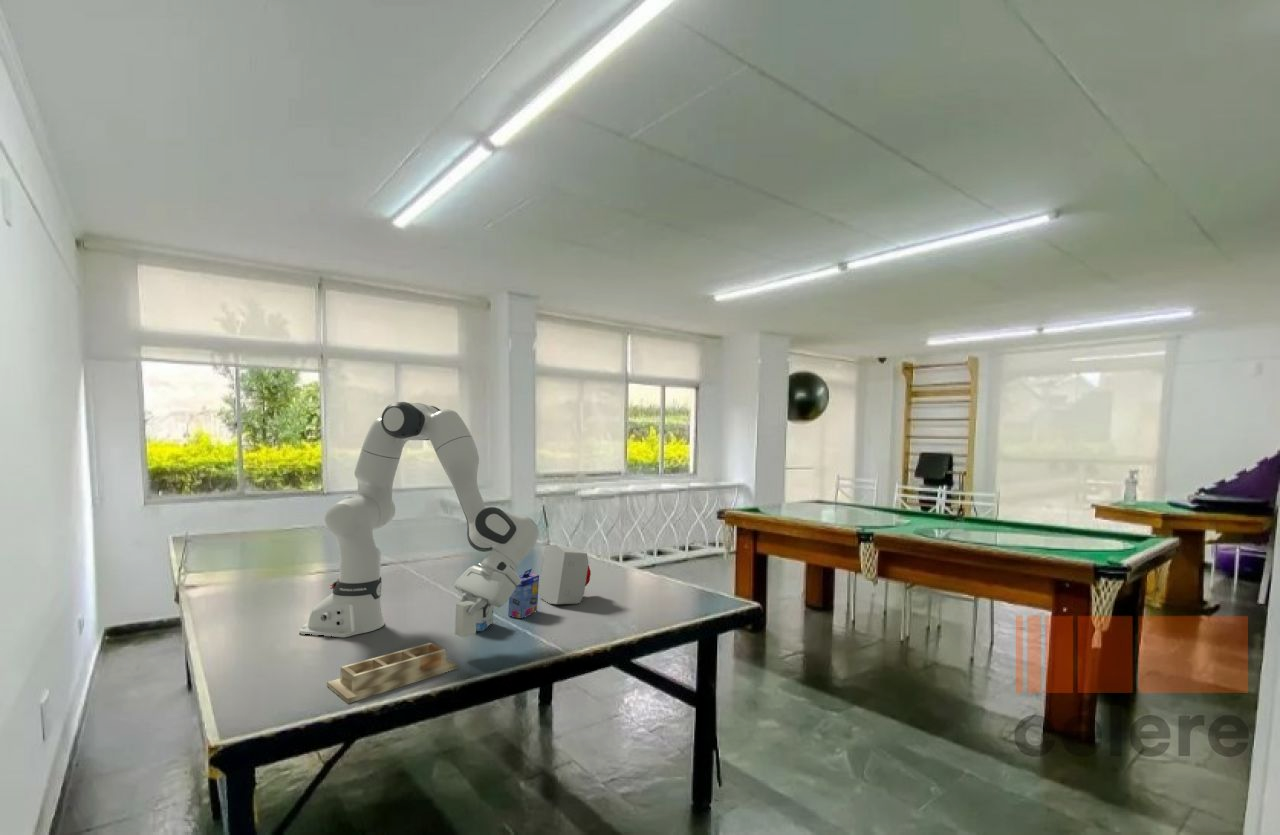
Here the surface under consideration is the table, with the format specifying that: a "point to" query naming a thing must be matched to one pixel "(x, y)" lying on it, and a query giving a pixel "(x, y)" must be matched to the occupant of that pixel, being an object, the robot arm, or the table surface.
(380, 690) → the rack
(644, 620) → the table surface
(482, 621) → the ink box
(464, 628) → the off-white tall block
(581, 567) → the electrical switch box
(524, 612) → the ink cartridge box
